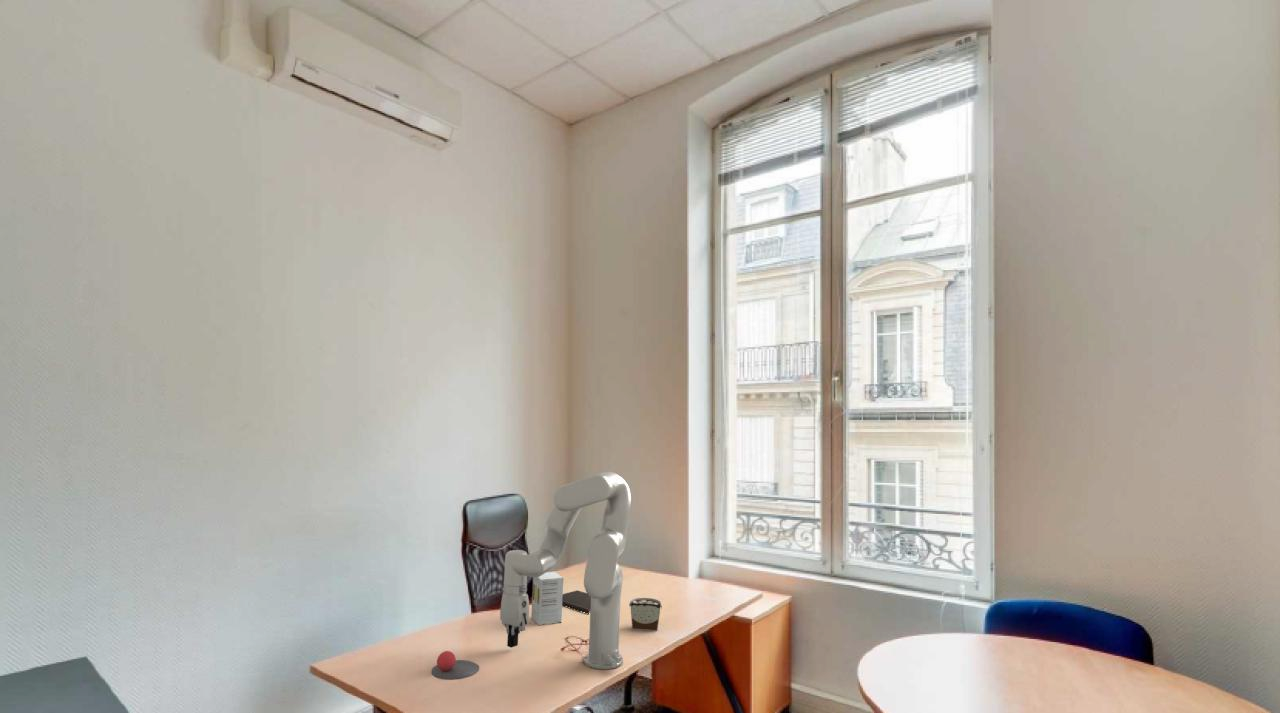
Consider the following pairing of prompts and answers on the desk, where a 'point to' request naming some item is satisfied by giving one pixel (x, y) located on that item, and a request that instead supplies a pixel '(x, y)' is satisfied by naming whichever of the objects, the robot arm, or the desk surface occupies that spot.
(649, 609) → the food container
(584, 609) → the hardcover book
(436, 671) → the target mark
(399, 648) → the desk surface
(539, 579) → the supplement box
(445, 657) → the ball
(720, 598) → the desk surface
